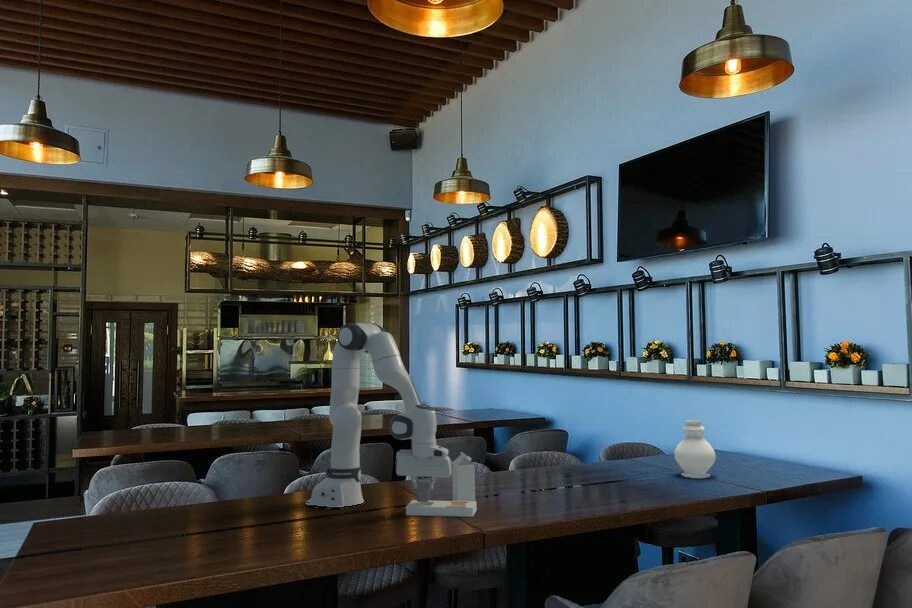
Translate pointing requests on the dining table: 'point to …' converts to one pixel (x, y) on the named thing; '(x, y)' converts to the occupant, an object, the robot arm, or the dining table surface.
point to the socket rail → (442, 508)
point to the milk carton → (463, 479)
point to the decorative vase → (694, 451)
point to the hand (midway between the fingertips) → (423, 488)
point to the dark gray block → (423, 491)
